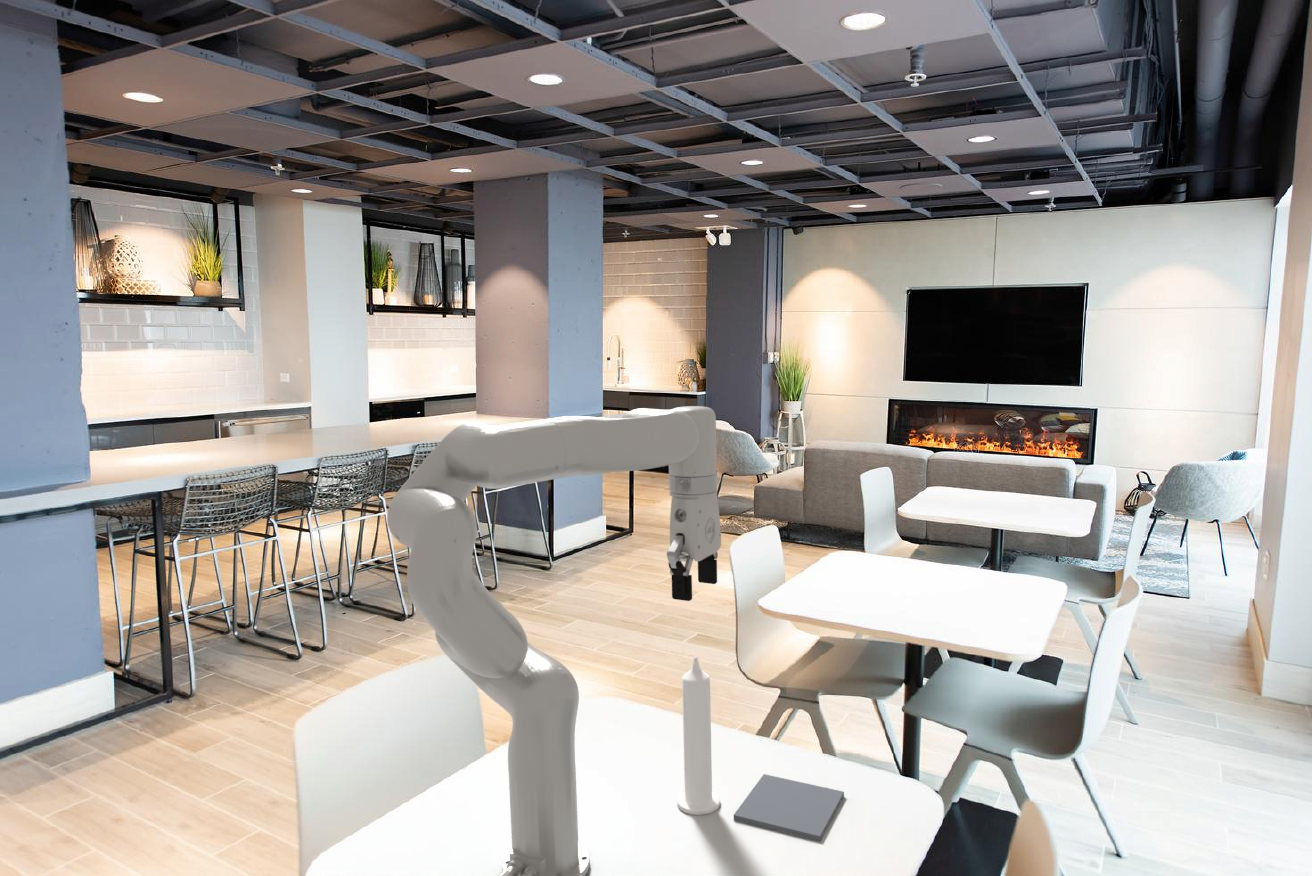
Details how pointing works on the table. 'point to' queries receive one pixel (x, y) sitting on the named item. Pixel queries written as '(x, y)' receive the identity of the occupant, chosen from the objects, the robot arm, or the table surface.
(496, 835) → the table surface
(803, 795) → the mat
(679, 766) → the table surface
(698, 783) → the candle
